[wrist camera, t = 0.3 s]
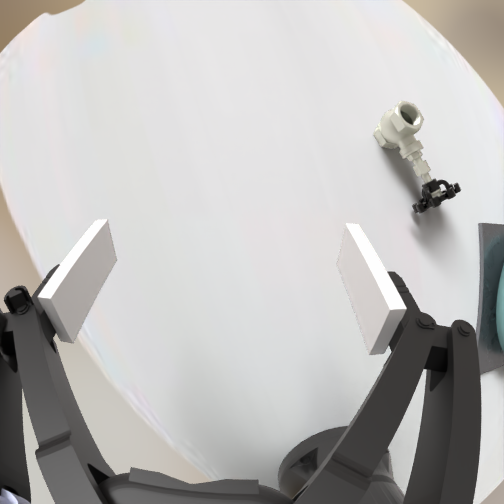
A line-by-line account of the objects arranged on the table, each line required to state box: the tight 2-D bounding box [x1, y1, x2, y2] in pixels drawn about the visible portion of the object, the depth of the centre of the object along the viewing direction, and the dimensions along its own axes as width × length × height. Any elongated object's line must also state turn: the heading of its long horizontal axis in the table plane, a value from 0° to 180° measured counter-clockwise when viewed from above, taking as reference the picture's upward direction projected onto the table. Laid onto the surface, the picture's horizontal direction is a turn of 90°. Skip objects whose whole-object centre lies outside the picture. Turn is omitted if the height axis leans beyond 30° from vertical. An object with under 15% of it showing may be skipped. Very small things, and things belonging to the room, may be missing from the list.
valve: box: [373, 101, 461, 213], centre depth 29 cm, size 7×7×12 cm
